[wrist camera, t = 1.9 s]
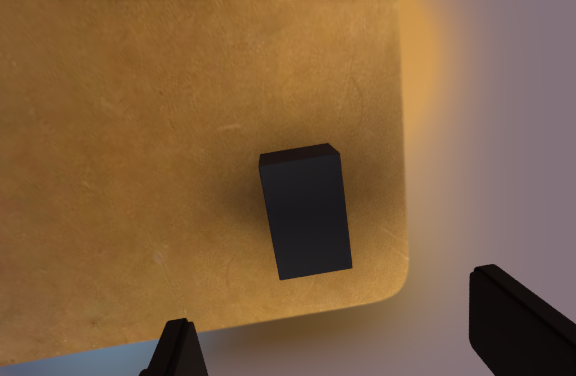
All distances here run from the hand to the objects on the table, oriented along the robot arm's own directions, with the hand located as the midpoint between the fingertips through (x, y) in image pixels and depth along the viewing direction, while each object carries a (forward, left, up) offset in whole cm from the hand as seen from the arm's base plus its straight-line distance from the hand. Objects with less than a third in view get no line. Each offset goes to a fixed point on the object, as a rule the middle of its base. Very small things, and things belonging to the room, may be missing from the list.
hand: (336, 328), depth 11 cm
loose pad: (0, 0, -15) cm, 14 cm away
